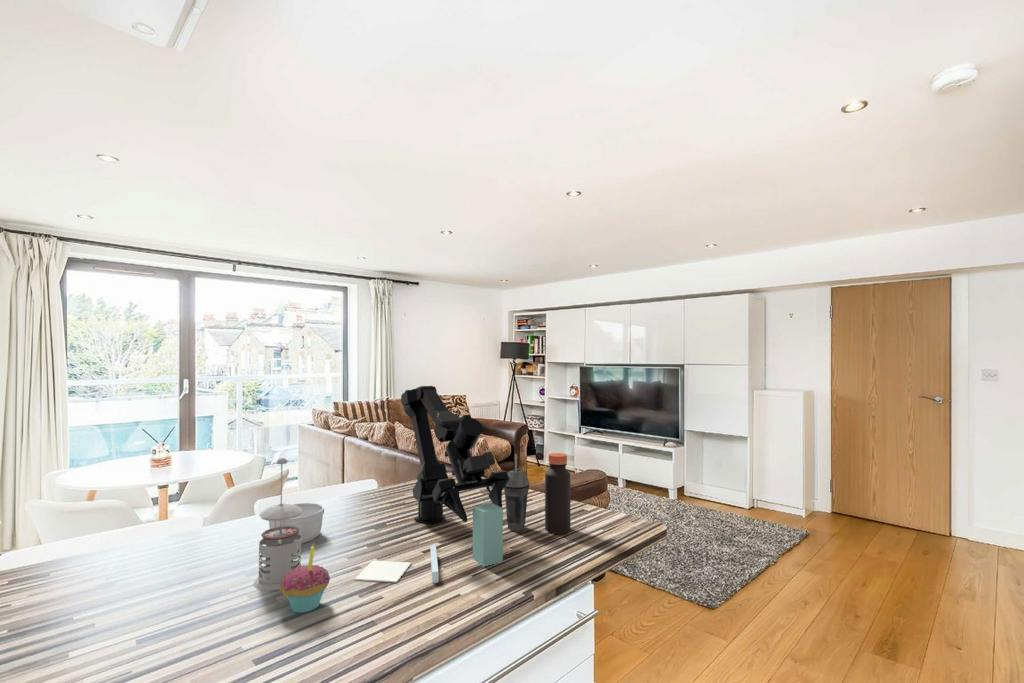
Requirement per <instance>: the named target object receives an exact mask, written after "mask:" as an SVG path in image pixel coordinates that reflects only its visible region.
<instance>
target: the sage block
mask: <svg viewBox="0 0 1024 683" xmlns="http://www.w3.org/2000/svg"><path fill="white" fill-rule="evenodd" d="M503 534H504V508H503V507H502V508H501V507H499V506H497V505H495V504H493V503H492V502H488V503H482V504H478V505H474V506H472V560H473V559H474V560H475V561H477V562H478V563H479V564H481V565H482V566H483V567H482V566H481V565H480V566H481V567H482V568H486V567H485V566H487V567H489V566H488V565H491V566H493V565H492V564H494V565H497V564H496V563H498V564H501V563H500V562H502V563H503V562H504V560H503V559H504V558H503V557H504V540H503V539H504V535H503ZM474 560H473V561H474ZM475 561H474V562H475ZM477 562H476V563H477ZM478 563H477V564H478ZM479 564H478V565H479Z"/></svg>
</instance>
